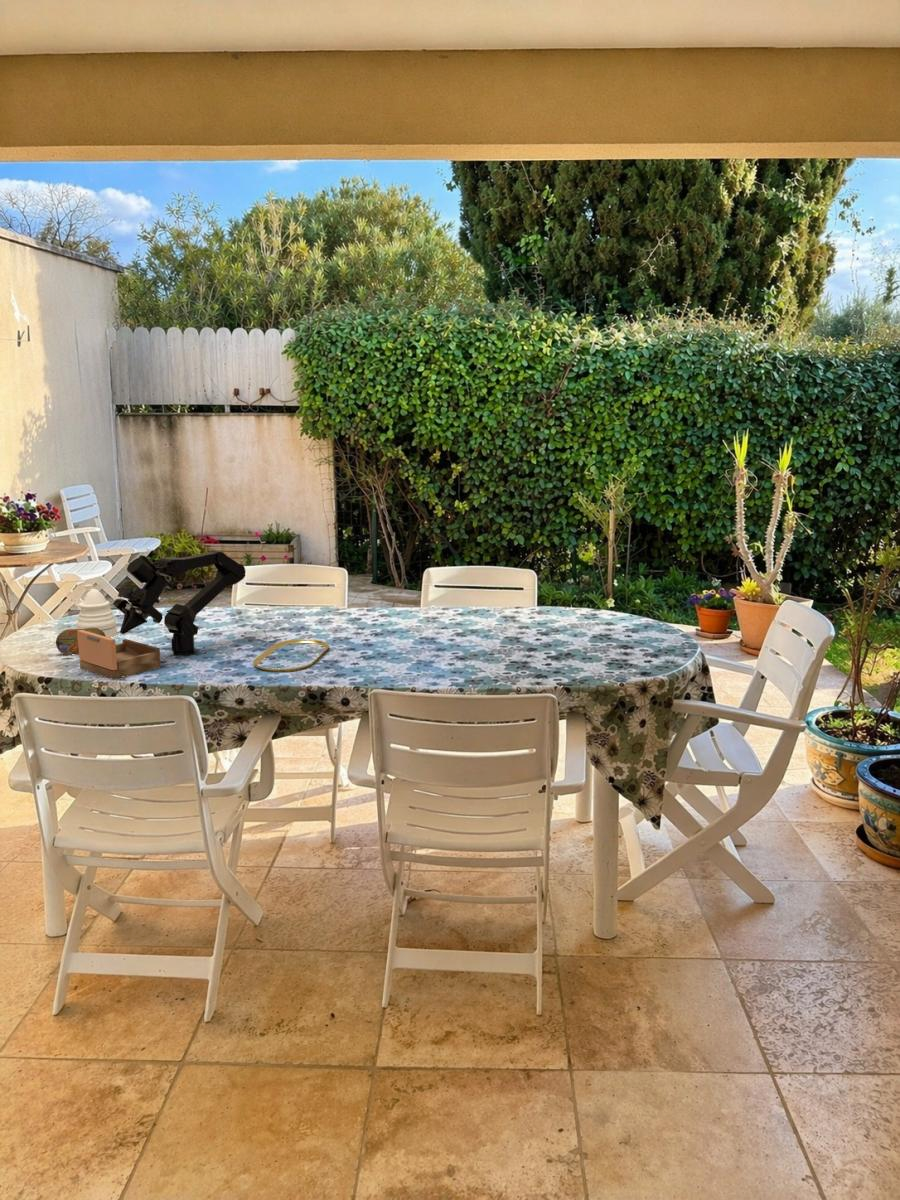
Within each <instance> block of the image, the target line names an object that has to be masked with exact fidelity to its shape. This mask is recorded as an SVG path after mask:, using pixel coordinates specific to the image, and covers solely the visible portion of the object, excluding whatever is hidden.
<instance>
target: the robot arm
mask: <svg viewBox="0 0 900 1200" xmlns="http://www.w3.org/2000/svg"><path fill="white" fill-rule="evenodd" d="M212 565H213V566H214V568H215V569H216V570H217V571H216V572H215V573H216V574H215V576H214V578H213V579H212V580H210V582H208V584H206V585H205V586H204V587H203V588H202V589H201V590H199V592H197V593H196V594H195V595H194V596H193V597H192V598H190V599H189V600H188V601H187V602H186V603H185V604H179V603H176V604H174V605H173V606H172V607H171V608H170V609H169V610H166V612H167V613H166V614H165V615H164V616H163V613H161V612H160V611H159V610H158V609H157V608H156V607H154V605H155V604H159V603H160V602H161V601H160V600H159V598H160V597H161V596H162V594H163V593H164V591H165V590H166V589H169V590H174V585H173V580H172V579H168V578H177V577H180V576H182V575H184V574H186V573H187V572H188V571H191V570H194V569H198V568H203V567H207V566H212ZM126 571H127V573H129V574H130V575H131V576H132V577H134V579H136V580H137V581H138V583H141V584H144V585H143V586H142V587H141V588H140V587H136V586H134V587H132V588H129V587H125V586H120V588H119V591H118V593H117V597H119V598H116V599H115V600H114V602H113V603H112V605H113V607H114V608H116V609H118V610H119V611H120V612H121V613H123V615H124V616H123V619H122V624H121V626H120V627H121V628H120V630H119V633H120V634H122V635H124V634H126V633H128V632H130V631H132V630H134V629H136V628H138V627H140V626H141V625H143V624H146V623H148V620H147V619H148V618H149V617H150V618H152V622H153V623H156V624H160V623H161V622H162V621H163V623H164V625H165V628H167V631H168V632H169V634H172V638H171V640H170V641H171V652H172V653H173V655H174V656H178V655H194V654H195V651H196V647H195V646H196V645H195V636H196V635H198V633H199V632H198V631H199V627H198V626H197V625H196V624H195V623H194V622H195V620H196V617H197V615H198V614H199V613H200V612H201V611H202V610H203V609H204V608H205V607H207V605H209V604H210V603H211V602H212V601H213V600H214V599H215V598H217V596H219V595H220V594H221V593H222V592H223V591H224V590H225V589H226V588H228V587H230V586H234V585H237V584H238V583H239V582H242V580H244V579H245V577H246V568H245V566H244V565H243V564H242V563H238V562H237V561H236V560H234V559H232V558H231V557H229V556H228V555H227V554H225V552H223V551H221V550H211V551H208V552H203V553H198V554H194V555H189V556H184V557H173V556H170V557H167V556H166V557H161V558H159V559H158V561H156V562H151V561H150V560H149V559H148V558H147V557H146V556H145V555H143V554H142V555H139V557H136V558H135V559H134V560H132V561H130V562H129V563H128V565H127V567H126ZM166 577H168V578H166ZM123 598H124V599H123ZM163 617H164V619H163Z"/></svg>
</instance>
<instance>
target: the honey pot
mask: <svg viewBox="0 0 900 1200" xmlns="http://www.w3.org/2000/svg"><path fill="white" fill-rule="evenodd" d="M84 589H85V590H86V591H88V592H87V593H86V595H85V597H84V599H83V601H82V602H79V603H78V607H79V608H80V611H79V612H78V617H77V622H76V629H79V628H92V627H94V628H98V629H100V630H102V631H103V632H104V634H105V635H106V637H109V638H111V637H114V636H116V635H117V636H118V626H117V620H116V618H115V616H114V613H113V610H112V609H111V607H110V604H111V603H110V601H108V600H107V599H106V598H105V596H104V595H103V593H102V592H101V591H100V590H98V589H97V588H93V584H84ZM117 636H116V637H117ZM114 638H115V637H114Z"/></svg>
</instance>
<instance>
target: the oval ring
mask: <svg viewBox="0 0 900 1200" xmlns="http://www.w3.org/2000/svg"><path fill="white" fill-rule="evenodd" d="M295 643H311V644H310V645H312V644H318V645H322V646H324V647H325V650H324V649H323V650H324V651H323V650H322V651H321V654H320V653H319V654H320V655H319V654H318V655H319V656H318V655H317V656H318V657H317V656H316V657H317V658H316V657H315V658H316V659H315V658H314V659H315V660H314V659H313V660H314V661H313V660H312V661H313V662H312V661H311V662H312V663H311V662H309V663H307V664H306V665H301V666H295V667H289V668H269V667H264V666H258V663H259V664H261V663H262V662H263V661H264V660H265V659H264V658H266V657H267V656H268V655H269V656H271V655H272V654H273V653H274V652H276V651H277V650H278V649H280V648H279V647H281V646H283V647H285V646H284V645H288V644H295ZM295 645H296V644H295ZM318 645H317V646H318ZM288 646H289V645H288ZM277 648H278V649H277ZM281 648H282V647H281ZM329 648H330V644H328V643H327V642H325V641H322V640H318V639H311V638H310V639H308V638H307V639H306V638H304V639H302V638H298V639H290V640H289V639H288V640H282V641H279V642H276V643H274V644H272V645H270V646H269V647H268V648H267V649H266V650H265V651H263V652H262V653H261V654H260V655H258V656H257V657H256V658H254V659H253V662H252V663H253V666H254V667H255V668H257V669H258V670H261V671H265V672H272V673H273V672H274V673H285V671H288V672H295V671H294V670H296V671H299V669H301V670H304V669H306V667H307V668H309V667H311V666H312V665H313V664H314V663H315V662H316V661H317V660H318V659H319V658H320V657H322V655H324V653H325V652H327V650H328V649H329ZM276 649H277V650H276ZM275 650H276V651H275ZM272 652H273V653H272ZM271 653H272V654H271ZM270 654H271V655H270ZM269 656H268V657H269ZM268 657H267V658H268ZM267 658H266V659H267ZM263 659H264V660H263ZM262 660H263V661H262ZM261 661H262V662H261ZM260 662H261V663H260ZM310 665H311V666H310ZM303 668H304V669H303Z"/></svg>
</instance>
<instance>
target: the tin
mask: <svg viewBox="0 0 900 1200" xmlns="http://www.w3.org/2000/svg"><path fill="white" fill-rule="evenodd" d="M78 630H84V631H88V632H91V633H95V634H98V635H102V636H105V637H106V635H105V634H104V632H103V631H102V630H100V629H98V628H94V627H92V628H79V629H77V628H68V629H65V630H63V631H61V632H60V633H59V634H58V635H57V637H56V639H55V646H56V648H57V650H58V651H59V652H60V653H61V654H63V655H65V656H73V655H72V654H79V648H78V636H77V631H78Z"/></svg>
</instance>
